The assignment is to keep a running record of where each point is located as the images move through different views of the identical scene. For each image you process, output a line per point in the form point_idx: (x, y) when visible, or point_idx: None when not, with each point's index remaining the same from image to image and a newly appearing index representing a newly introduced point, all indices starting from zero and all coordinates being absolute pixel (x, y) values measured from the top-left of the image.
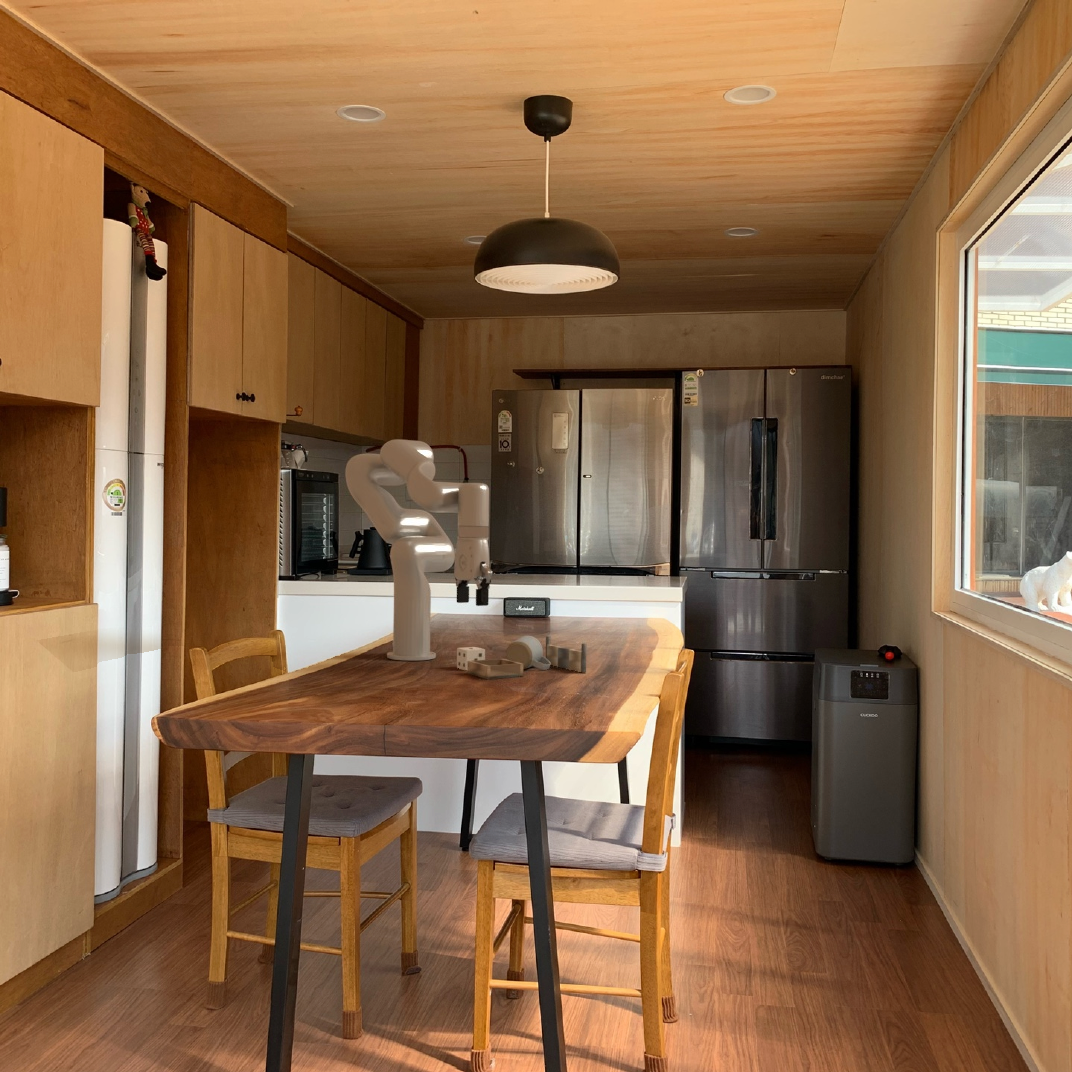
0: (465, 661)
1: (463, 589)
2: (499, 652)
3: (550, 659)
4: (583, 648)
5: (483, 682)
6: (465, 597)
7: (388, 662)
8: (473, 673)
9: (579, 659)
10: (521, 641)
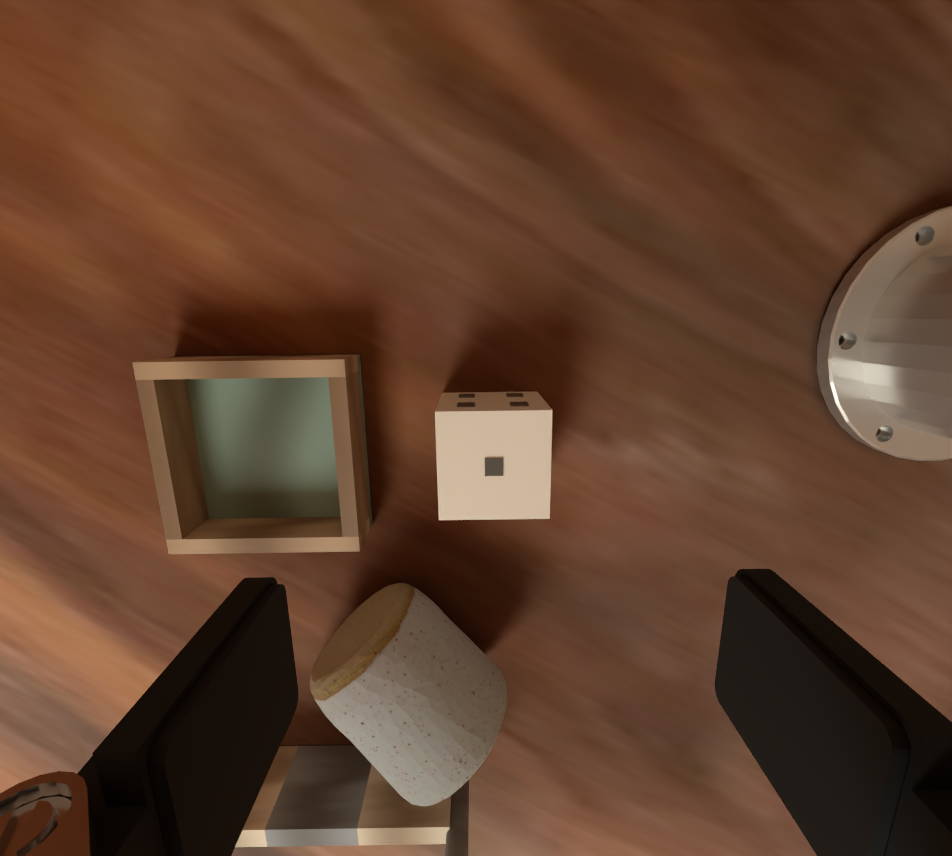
0: (453, 400)
1: (838, 778)
2: None
3: None
4: None
5: (102, 301)
6: (752, 700)
7: (875, 154)
8: (297, 355)
9: None
10: (342, 698)
